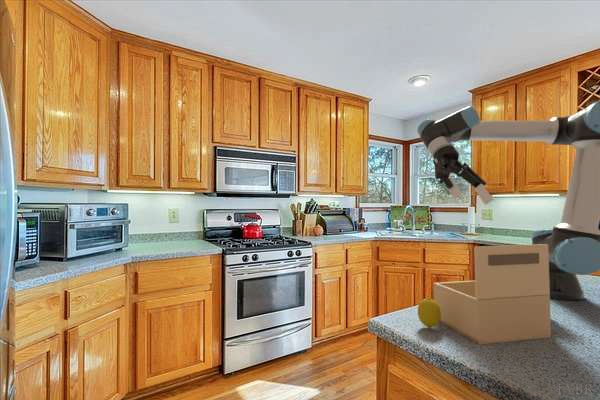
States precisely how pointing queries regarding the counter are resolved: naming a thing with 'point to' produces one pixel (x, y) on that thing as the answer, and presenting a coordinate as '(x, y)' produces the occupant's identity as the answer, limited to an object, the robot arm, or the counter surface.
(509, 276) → the carton flap
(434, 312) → the lemon
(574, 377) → the counter surface
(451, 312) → the carton
